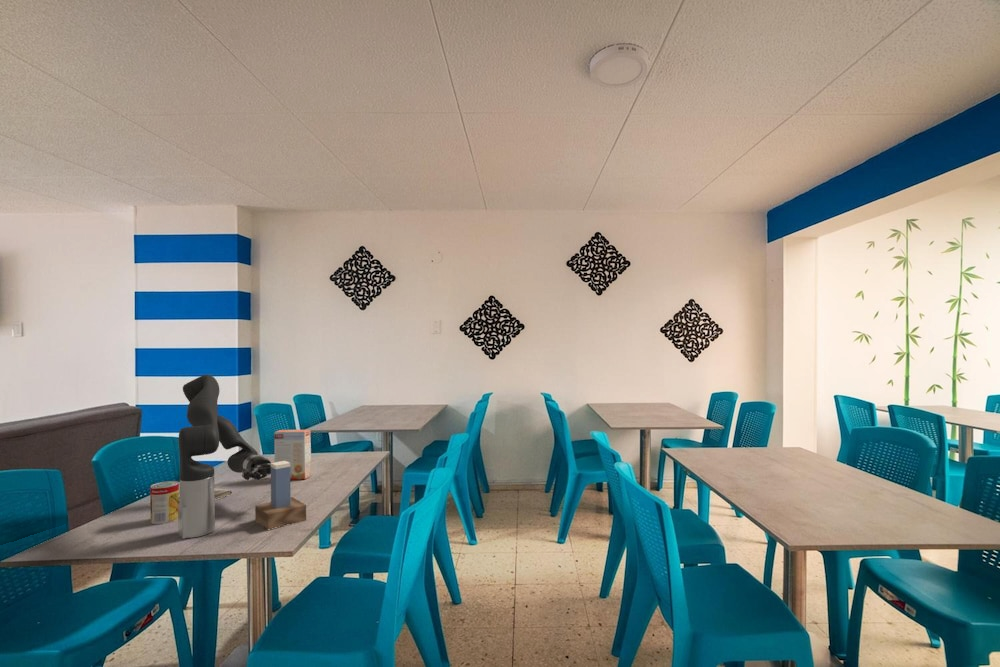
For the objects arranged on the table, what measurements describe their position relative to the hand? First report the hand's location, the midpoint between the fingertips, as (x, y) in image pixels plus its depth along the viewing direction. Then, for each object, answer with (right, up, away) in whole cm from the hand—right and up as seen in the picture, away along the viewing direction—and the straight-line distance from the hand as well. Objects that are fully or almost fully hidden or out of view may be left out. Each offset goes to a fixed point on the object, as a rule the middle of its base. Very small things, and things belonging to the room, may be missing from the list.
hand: (272, 474), depth 164 cm
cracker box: (-13, -15, +46) cm, 50 cm away
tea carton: (+5, -9, -5) cm, 11 cm away
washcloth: (-36, -16, +17) cm, 43 cm away
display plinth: (+5, -14, -5) cm, 16 cm away
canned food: (-35, -15, -3) cm, 38 cm away
